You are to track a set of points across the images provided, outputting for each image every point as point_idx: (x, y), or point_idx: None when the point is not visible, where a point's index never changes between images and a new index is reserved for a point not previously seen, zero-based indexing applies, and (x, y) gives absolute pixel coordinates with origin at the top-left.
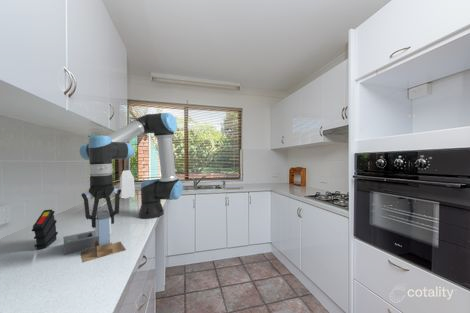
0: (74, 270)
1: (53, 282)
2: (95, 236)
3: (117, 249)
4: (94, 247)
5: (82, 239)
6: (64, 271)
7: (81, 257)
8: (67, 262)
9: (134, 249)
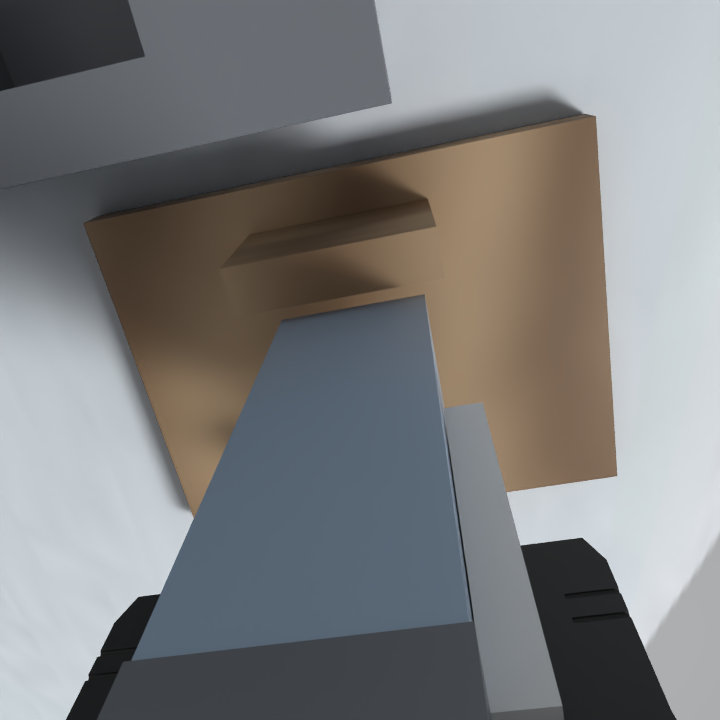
0: (167, 574)
1: (80, 668)
2: (201, 109)
3: (526, 407)
4: (244, 242)
5: (2, 153)
6: (88, 550)
7: (155, 413)
8: (34, 376)
9: (705, 423)
